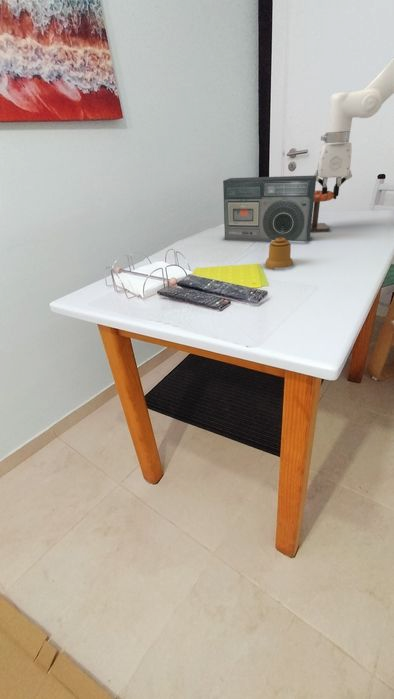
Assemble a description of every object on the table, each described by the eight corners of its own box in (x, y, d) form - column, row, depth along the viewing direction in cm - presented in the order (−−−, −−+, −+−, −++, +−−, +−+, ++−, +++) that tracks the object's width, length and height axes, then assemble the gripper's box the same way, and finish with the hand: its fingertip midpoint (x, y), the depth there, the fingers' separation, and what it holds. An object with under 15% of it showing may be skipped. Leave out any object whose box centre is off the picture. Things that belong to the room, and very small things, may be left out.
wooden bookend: (324, 226, 130) (328, 191, 124) (328, 232, 123) (333, 195, 116) (300, 227, 132) (303, 193, 125) (302, 233, 125) (306, 197, 118)
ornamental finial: (284, 273, 92) (260, 268, 96) (296, 265, 96) (273, 261, 101) (286, 243, 87) (261, 240, 92) (299, 236, 92) (275, 234, 96)
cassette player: (224, 240, 124) (223, 180, 113) (231, 236, 129) (230, 178, 118) (306, 244, 112) (312, 178, 102) (309, 239, 117) (316, 175, 107)
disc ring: (330, 196, 125) (331, 189, 124) (336, 201, 116) (337, 193, 115) (300, 197, 127) (301, 190, 126) (303, 203, 118) (304, 195, 117)
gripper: (313, 141, 109) (307, 201, 119) (366, 136, 107) (355, 199, 117) (310, 140, 116) (304, 198, 126) (360, 136, 113) (350, 196, 123)
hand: (329, 198), depth 121 cm, fingers closed on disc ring, 2 cm apart
